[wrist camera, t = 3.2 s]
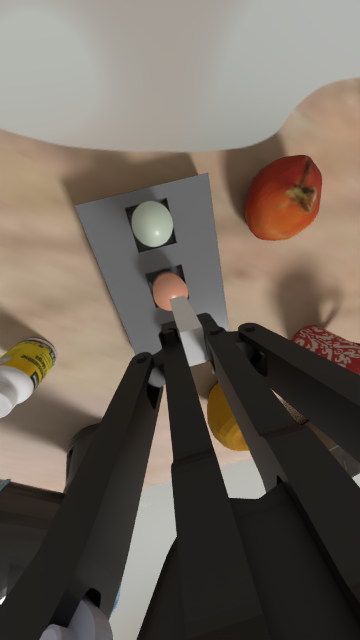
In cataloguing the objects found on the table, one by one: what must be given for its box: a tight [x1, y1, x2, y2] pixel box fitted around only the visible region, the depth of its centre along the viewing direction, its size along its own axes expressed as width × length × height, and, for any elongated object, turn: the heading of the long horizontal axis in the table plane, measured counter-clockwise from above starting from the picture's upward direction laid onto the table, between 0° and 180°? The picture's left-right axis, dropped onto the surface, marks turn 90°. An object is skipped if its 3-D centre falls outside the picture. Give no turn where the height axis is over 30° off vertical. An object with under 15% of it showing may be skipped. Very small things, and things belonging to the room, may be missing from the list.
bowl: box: [304, 421, 360, 478], centre depth 48 cm, size 19×19×10 cm
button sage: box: [132, 201, 173, 247], centre depth 22 cm, size 4×4×4 cm
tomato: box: [244, 155, 322, 241], centre depth 24 cm, size 9×9×8 cm
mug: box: [292, 326, 360, 375], centre depth 34 cm, size 13×9×14 cm
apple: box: [207, 382, 249, 451], centre depth 37 cm, size 13×13×11 cm
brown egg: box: [153, 271, 188, 311], centre depth 26 cm, size 4×4×4 cm
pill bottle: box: [0, 338, 57, 418], centre depth 27 cm, size 6×6×11 cm
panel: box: [75, 173, 229, 355], centre depth 29 cm, size 16×24×4 cm, turn 13°
